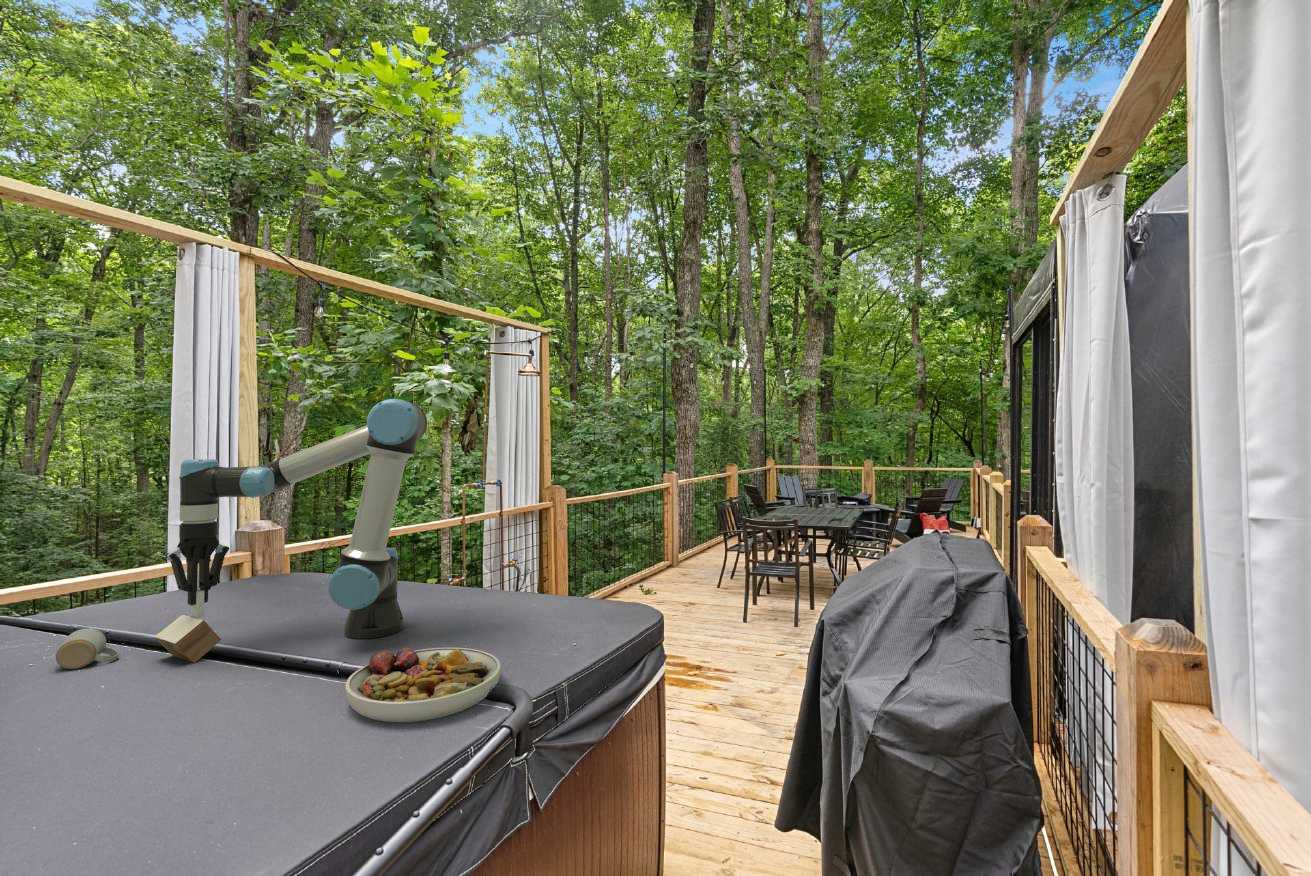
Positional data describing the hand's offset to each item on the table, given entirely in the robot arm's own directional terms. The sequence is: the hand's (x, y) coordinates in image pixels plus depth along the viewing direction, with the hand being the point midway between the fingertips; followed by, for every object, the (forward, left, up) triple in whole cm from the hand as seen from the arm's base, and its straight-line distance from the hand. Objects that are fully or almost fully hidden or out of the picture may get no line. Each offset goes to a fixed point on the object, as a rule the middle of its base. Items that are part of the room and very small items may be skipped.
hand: (197, 617), depth 146 cm
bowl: (-68, -11, -10) cm, 70 cm away
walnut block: (0, 0, -8) cm, 8 cm away
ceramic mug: (+17, +15, -10) cm, 25 cm away
